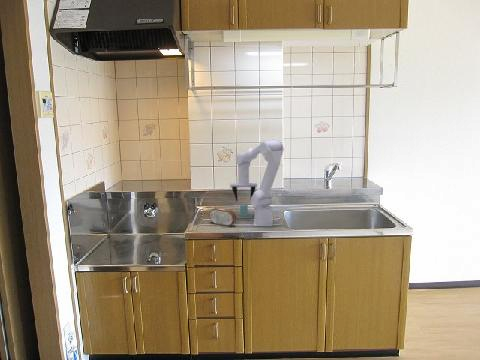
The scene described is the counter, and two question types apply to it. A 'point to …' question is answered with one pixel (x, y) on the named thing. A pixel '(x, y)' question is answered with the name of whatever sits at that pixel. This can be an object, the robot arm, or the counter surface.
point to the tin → (222, 216)
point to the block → (243, 210)
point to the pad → (243, 217)
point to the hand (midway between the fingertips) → (243, 200)
